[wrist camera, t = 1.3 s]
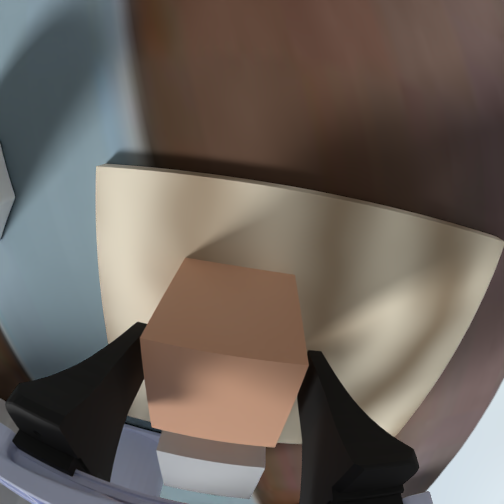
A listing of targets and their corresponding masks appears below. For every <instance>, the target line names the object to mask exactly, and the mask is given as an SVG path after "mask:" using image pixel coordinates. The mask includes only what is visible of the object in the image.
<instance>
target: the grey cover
mask: <svg viewBox="0 0 504 504" xmlns="http://www.w3.org/2000/svg"><path fill="white" fill-rule="evenodd" d="M156 451H157V456H158V461H159V465H160V470H161V474H162V478H163V482H164V485H165V486H169V487H174V488H178V489H183V490H188V491H193V492H199V493H205V494H211V495H218V496H226V497H234V498H244V499H250V497H251V495H252V493H253V491H254V489H255V487H256V485H257V483H258V481H259V479H260V477H261V475H262V473H263V471H264V469H265V453H266V447H263V446H253V445H244V444H236V443H228V442H221V441H215V440H209V439H203V438H198V437H192V436H187V435H182V434H178V433H173V432H169V431H164V430H162V433H161V436H160V439H159V443H158V446H157V449H156Z"/></svg>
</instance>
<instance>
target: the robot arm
mask: <svg viewBox="0 0 504 504" xmlns="http://www.w3.org/2000/svg"><path fill="white" fill-rule="evenodd" d="M146 326H147V324H146V323H141V322H136V323H135V324H134V325H132V326H131V327H130V328H129V329H128V330H126V331H125V332H124V333H123V334H121V335H120V336H119V337H118V338H116V339H115V340H114V341H112V342H111V343H110V344H108V345H107V346H106V347H104V348H103V349H101V350H100V351H98V352H97V353H95V354H94V355H93V356H91V357H89V358H88V359H86V360H84V361H82V362H81V363H79V364H77V365H75V366H73V367H71V368H68V369H66V370H64V371H61V372H59V373H57V374H54V375H51V376H48V377H45V378H41V379H38V380H33V381H29V382H24V383H19V384H18V385H17V387H16V388H15V389H14V391H13V392H12V394H11V395H10V397H9V398H8V399H7V401H6V403H5V406H6V410H7V412H8V414H9V415H10V417H11V418H12V420H13V421H14V423H15V424H16V426H17V427H18V428H19V430H18V432H17V434H16V433H15V432H14V431H12V430H11V429H10V428H8V427H7V426H5V425H4V424H2V423H0V483H1V484H3V485H4V486H6V487H7V488H9V489H10V490H12V491H13V492H15V493H16V494H18V495H19V496H21V497H22V498H24V499H25V500H27V501H29V502H30V503H32V504H187V503H182V502H177V501H173V500H168V499H164V498H160V493H161V489H162V485H163V478H162V474H161V470H160V465H159V461H158V456H157V451H156V449H157V446H158V443H159V439H160V436H161V434H160V433H156V432H152V431H149V430H145V429H141V428H138V427H134V426H131V425H127V424H124V423H125V420H126V417H127V415H128V412H129V410H130V408H131V406H132V403H133V401H134V399H135V397H136V395H137V393H138V391H139V389H140V387H141V384H142V382H143V380H144V372H143V364H142V355H141V345H140V337H141V335H142V333H143V331H144V329H145V327H146ZM307 356H308V363H309V366H308V369H307V371H306V374H305V376H304V379H303V382H302V384H301V387H300V389H299V392H298V394H297V402H298V411H299V419H300V427H301V436H302V477H301V491H300V502H299V504H433V502H432V499H431V495H430V492H428V491H427V492H423V493H419V494H415V495H410V496H407V497H405V498H402V497H401V493H403V491H404V488H403V484H404V483H405V482H406V481H408V480H409V479H410V478H411V477H412V476H413V475H414V474H415V473H416V472H417V471H418V469H419V464H418V461H417V457H416V454H415V452H414V449H413V448H411V447H409V446H408V445H406V444H404V443H403V442H401V441H399V440H398V439H396V438H395V437H393V436H392V435H391V434H389V433H388V432H386V431H385V430H384V429H383V428H381V427H380V426H379V425H378V424H377V423H376V422H375V421H373V420H372V419H371V418H370V417H369V416H368V415H367V414H366V413H365V412H364V411H363V410H362V409H361V408H360V407H359V405H358V404H357V403H356V402H355V401H354V400H353V398H352V397H351V396H350V394H349V393H348V392H347V390H346V389H345V388H344V386H343V385H342V383H341V382H340V380H339V379H338V377H337V376H336V374H335V373H334V371H333V370H332V368H331V366H330V365H329V363H328V361H327V360H326V358H325V356H324V355H323V353H322V352H321V351H314V350H308V352H307Z"/></svg>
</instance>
